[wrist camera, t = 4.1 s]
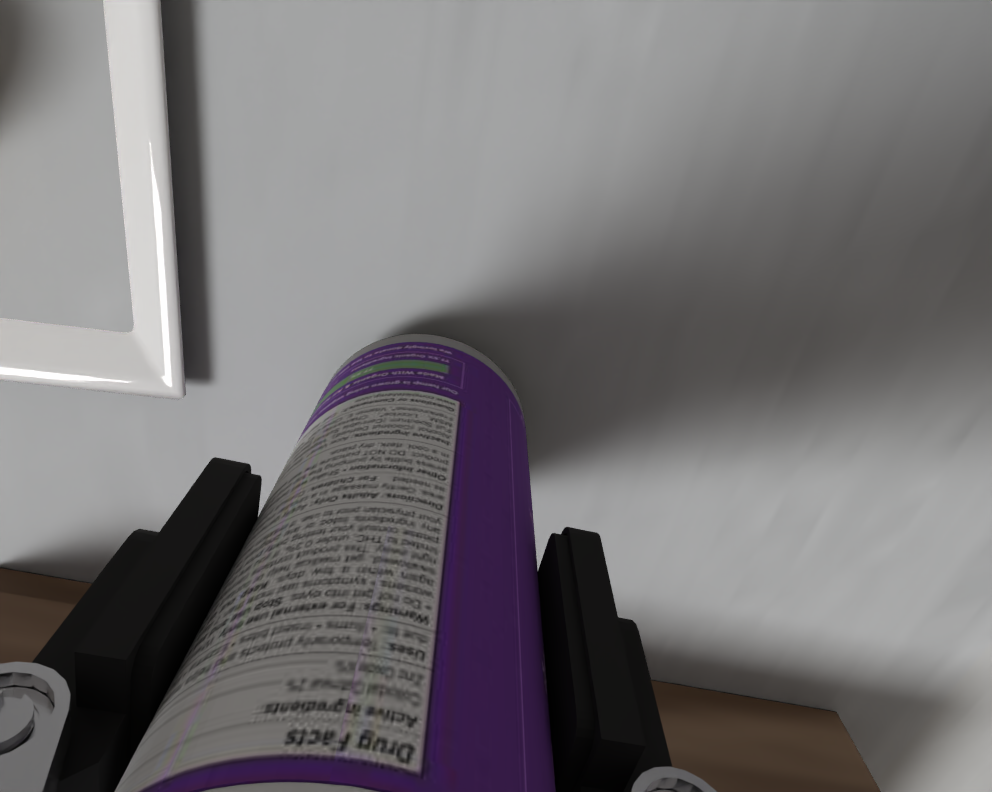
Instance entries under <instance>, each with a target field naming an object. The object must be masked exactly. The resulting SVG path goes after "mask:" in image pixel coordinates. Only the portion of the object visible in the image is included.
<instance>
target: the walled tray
mask: <svg viewBox="0 0 992 792" xmlns="http://www.w3.org/2000/svg"><path fill="white" fill-rule="evenodd" d="M91 585H92V584H90V583H84V582H78V581H73V580H67V579H61V578H55V577H49V576H44V575H38V574H32V573H26V572H20V571H15V570H9V569H3V568H0V664H2V663H10V662H27V663H32V661H33V660H34V659H35V657H36V656H37V655H38V654H39V652H40V651H41V650H42V648H43V647H44V646H45V644H46V643H47V642H48V641H49V639H50V638H51V637H52V635H53V634H54V633H55V632H56V630H57V629H58V628H59V626H60V625H61V624H62V622H63V621H64V620H65V619H66V617H67V616H68V615H69V613H70V612H71V611H72V609H73V608H74V607H75V606H76V604H77V603H78V602H79V600H80V599H81V598H82V596H83V595H84V594H85V593H86V591H87V590H88V589H89V587H90V586H91ZM651 683H652V687H653V691H654V695H655V699H656V703H657V707H658V711H659V715H660V719H661V723H662V727H663V731H664V735H665V739H666V743H667V747H668V751H669V755H670V759H671V763H672V767H674V768H678V769H682V770H686V771H688V772H690V773H691V774H693V775H695V776H697V777H699V778H701V779H703V780H704V781H705V782H706V783H707V784H709V785H710V786H711V787H712V788H713V789H715V790H716V791H717V792H880V790H879V788H878V786H877V784H876V782H875V781H874V779H873V777H872V775H871V773H870V772H869V770H868V768H867V766H866V764H865V763H864V761H863V759H862V757H861V755H860V754H859V752H858V750H857V748H856V746H855V745H854V743H853V741H852V739H851V737H850V736H849V734H848V732H847V730H846V728H845V727H844V725H843V723H842V721H841V719H840V718H839V716H838V714H837V712H832V711H827V710H821V709H815V708H809V707H803V706H798V705H792V704H786V703H780V702H774V701H769V700H763V699H757V698H751V697H745V696H740V695H734V694H728V693H722V692H716V691H711V690H705V689H699V688H693V687H687V686H682V685H676V684H670V683H664V682H658V681H653V680H651Z"/></svg>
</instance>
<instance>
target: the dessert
mask: <svg viewBox="0 0 992 792" xmlns="http://www.w3.org/2000/svg"><path fill="white" fill-rule="evenodd" d="M103 5H104V15H105V26H106V36H107V47H108V57H109V68H110V78H111V89H112V99H113V110H114V120H115V131H116V141H117V152H118V162H119V173H120V183H121V194H122V204H123V215H124V225H125V235H126V246H127V256H128V267H129V277H130V288H131V298H132V309H133V319H134V327H133V330H132V331H130V332H127V333H124V332H115V331H107V330H98V329H90V328H82V327H73V326H65V325H56V324H48V323H39V322H31V321H22V320H14V319H5V318H0V380H1V381H10V382H19V383H29V384H38V385H47V386H57V387H66V388H75V389H84V390H94V391H103V392H112V393H121V394H131V395H140V396H149V397H158V398H168V399H177V400H180V399H182V398H184V397H185V395H186V389H185V373H184V358H183V342H182V327H181V311H180V295H179V280H178V264H177V249H176V233H175V217H174V202H173V186H172V171H171V155H170V139H169V124H168V108H167V93H166V77H165V61H164V46H163V30H162V15H161V0H103Z"/></svg>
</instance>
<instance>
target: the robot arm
mask: <svg viewBox="0 0 992 792" xmlns="http://www.w3.org/2000/svg"><path fill="white" fill-rule="evenodd" d="M261 480H262V479H261V476H260V475H255V474H251V466H250V465H249V464H246V463H241V462H236V461H231V460H226V459H221V458H216V457H215V458H213V459H212V460H211V461H210V462H209V463H208V465H207V466H206V468H205V469H204V470H203V472H202V473H201V475H200V476H199V477H198V479H197V480H196V482H195V483H194V484H193V486H192V487H191V489H190V490H189V491H188V493H187V494H186V496H185V497H184V498H183V500H182V501H181V503H180V504H179V505H178V507H177V508H176V510H175V511H174V512H173V514H172V515H171V517H170V518H169V519H168V521H167V522H166V524H165V525H164V526H163V528H162V529H161V531H160V532H154V531H148V530H143V529H138V530H136V531H134V532H133V533H132V534H131V535H130V536H129V537H128V538H127V539H126V541H125V542H124V543H123V545H122V546H121V547H120V548H119V550H118V551H117V552H116V554H115V555H114V556H113V558H112V559H111V560H110V561H109V563H108V564H107V565H106V567H105V568H104V569H103V571H102V572H101V573H100V574H99V576H98V577H97V578H96V580H95V581H94V582H93V584H92V585H91V586H90V587H89V589H88V590H87V591H86V593H85V594H84V595H83V596H82V598H81V599H80V600H79V602H78V603H77V604H76V606H75V607H74V608H73V609H72V611H71V612H70V613H69V615H68V616H67V617H66V619H65V620H64V621H63V622H62V624H61V625H60V626H59V628H58V629H57V630H56V632H55V633H54V634H53V635H52V637H51V638H50V639H49V641H48V642H47V643H46V644H45V646H44V647H43V648H42V650H41V651H40V652H39V654H38V655H37V656H36V657H35V659H34V660H33V661H32V663H27V662H10V663H2V664H0V792H115V790H116V788H117V786H118V784H119V782H120V780H121V778H122V776H123V775H124V773H125V771H126V769H127V767H128V765H129V763H130V761H131V759H132V757H133V755H134V754H135V752H136V750H137V748H138V746H139V744H140V742H141V740H142V738H143V736H144V734H145V733H146V731H147V729H148V727H149V725H150V723H151V721H152V719H153V717H154V715H155V713H156V712H157V710H158V708H159V706H160V704H161V702H162V700H163V698H164V696H165V694H166V692H167V691H168V689H169V687H170V685H171V683H172V681H173V679H174V677H175V675H176V673H177V671H178V669H179V668H180V666H181V664H182V662H183V660H184V658H185V656H186V654H187V652H188V650H189V648H190V647H191V645H192V643H193V641H194V639H195V637H196V635H197V633H198V631H199V629H200V627H201V626H202V624H203V622H204V620H205V618H206V616H207V614H208V612H209V610H210V608H211V606H212V605H213V603H214V601H215V599H216V597H217V595H218V593H219V591H220V589H221V587H222V585H223V584H224V582H225V580H226V578H227V576H228V574H229V572H230V570H231V568H232V566H233V564H234V563H235V561H236V559H237V557H238V555H239V553H240V551H241V549H242V547H243V545H244V543H245V541H246V540H247V538H248V536H249V534H250V532H251V530H252V528H253V526H254V524H255V522H256V520H257V519H258V510H259V501H260V492H261ZM538 583H539V595H540V607H541V619H542V631H543V643H544V655H545V668H546V680H547V692H548V704H549V716H550V728H551V740H552V752H553V764H554V776H555V788H556V792H717V791H716V790H715V789H713V788H712V787H711V786H710V785H709V784H707V783H706V782H705V781H704V780H703V779H701V778H699V777H697V776H695V775H693V774H691V773H690V772H688V771H686V770H682V769H678V768H674V767H672V763H671V759H670V755H669V751H668V747H667V743H666V739H665V735H664V731H663V727H662V723H661V719H660V715H659V711H658V707H657V703H656V699H655V695H654V691H653V687H652V683H651V679H650V675H649V671H648V667H647V663H646V659H645V655H644V651H643V647H642V643H641V639H640V635H639V631H638V628H637V626H636V624H635V623H634V622H633V621H632V620H629V619H623V618H618V616H617V611H616V607H615V602H614V598H613V593H612V589H611V584H610V579H609V575H608V570H607V566H606V561H605V556H604V552H603V547H602V543H601V538H600V536H599V534H598V533H595V532H590V531H585V530H580V529H575V528H570V527H566V528H564V530H563V531H562V534H555V533H552V534H551V536H550V538H549V540H548V543H547V546H546V549H545V552H544V555H543V558H542V561H541V564H540V567H539V570H538Z"/></svg>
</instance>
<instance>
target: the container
mask: <svg viewBox="0 0 992 792" xmlns="http://www.w3.org/2000/svg"><path fill="white" fill-rule="evenodd" d="M115 792H556V788H555V776H554V764H553V752H552V740H551V728H550V716H549V704H548V692H547V680H546V668H545V655H544V643H543V631H542V619H541V607H540V595H539V583H538V571H537V559H536V547H535V535H534V523H533V511H532V499H531V487H530V475H529V463H528V451H527V439H526V427H525V421H524V414H523V409H522V406H521V402H520V399H519V397H518V395H517V392H516V390H515V389H514V387H513V385H512V383H511V382H510V380H509V379H508V378H507V376H506V375H505V374H504V373H503V371H502V370H501V369H500V368H499V367H498V366H497V365H496V364H495V363H494V362H493V361H492V360H490V359H489V358H488V357H486V356H485V355H484V354H482V353H480V352H479V351H477V350H476V349H474V348H472V347H470V346H468V345H466V344H464V343H461V342H459V341H456V340H453V339H449V338H446V337H442V336H436V335H428V334H406V335H399V336H393V337H389V338H386V339H382V340H380V341H377V342H374V343H372V344H370V345H368V346H366V347H364V348H363V349H361V350H360V351H358V352H356V353H355V354H354V355H353V356H351V357H350V358H349V359H348V360H347V361H346V362H345V363H344V364H343V365H342V366H341V367H340V368H339V369H338V370H337V372H336V373H335V374H334V376H333V377H332V379H331V381H330V382H329V384H328V386H327V387H326V389H325V391H324V392H323V394H322V396H321V398H320V400H319V402H318V404H317V406H316V408H315V410H314V412H313V414H312V415H311V417H310V419H309V421H308V423H307V425H306V427H305V429H304V431H303V433H302V435H301V436H300V438H299V440H298V442H297V444H296V446H295V448H294V450H293V452H292V454H291V456H290V457H289V459H288V461H287V463H286V465H285V467H284V469H283V471H282V473H281V475H280V477H279V478H278V480H277V482H276V484H275V486H274V488H273V490H272V492H271V494H270V496H269V498H268V499H267V501H266V503H265V505H264V507H263V509H262V511H261V513H260V515H259V517H258V519H257V520H256V522H255V524H254V526H253V528H252V530H251V532H250V534H249V536H248V538H247V540H246V541H245V543H244V545H243V547H242V549H241V551H240V553H239V555H238V557H237V559H236V561H235V563H234V564H233V566H232V568H231V570H230V572H229V574H228V576H227V578H226V580H225V582H224V584H223V585H222V587H221V589H220V591H219V593H218V595H217V597H216V599H215V601H214V603H213V605H212V606H211V608H210V610H209V612H208V614H207V616H206V618H205V620H204V622H203V624H202V626H201V627H200V629H199V631H198V633H197V635H196V637H195V639H194V641H193V643H192V645H191V647H190V648H189V650H188V652H187V654H186V656H185V658H184V660H183V662H182V664H181V666H180V668H179V669H178V671H177V673H176V675H175V677H174V679H173V681H172V683H171V685H170V687H169V689H168V691H167V692H166V694H165V696H164V698H163V700H162V702H161V704H160V706H159V708H158V710H157V712H156V713H155V715H154V717H153V719H152V721H151V723H150V725H149V727H148V729H147V731H146V733H145V734H144V736H143V738H142V740H141V742H140V744H139V746H138V748H137V750H136V752H135V754H134V755H133V757H132V759H131V761H130V763H129V765H128V767H127V769H126V771H125V773H124V775H123V776H122V778H121V780H120V782H119V784H118V786H117V788H116V790H115Z"/></svg>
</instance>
